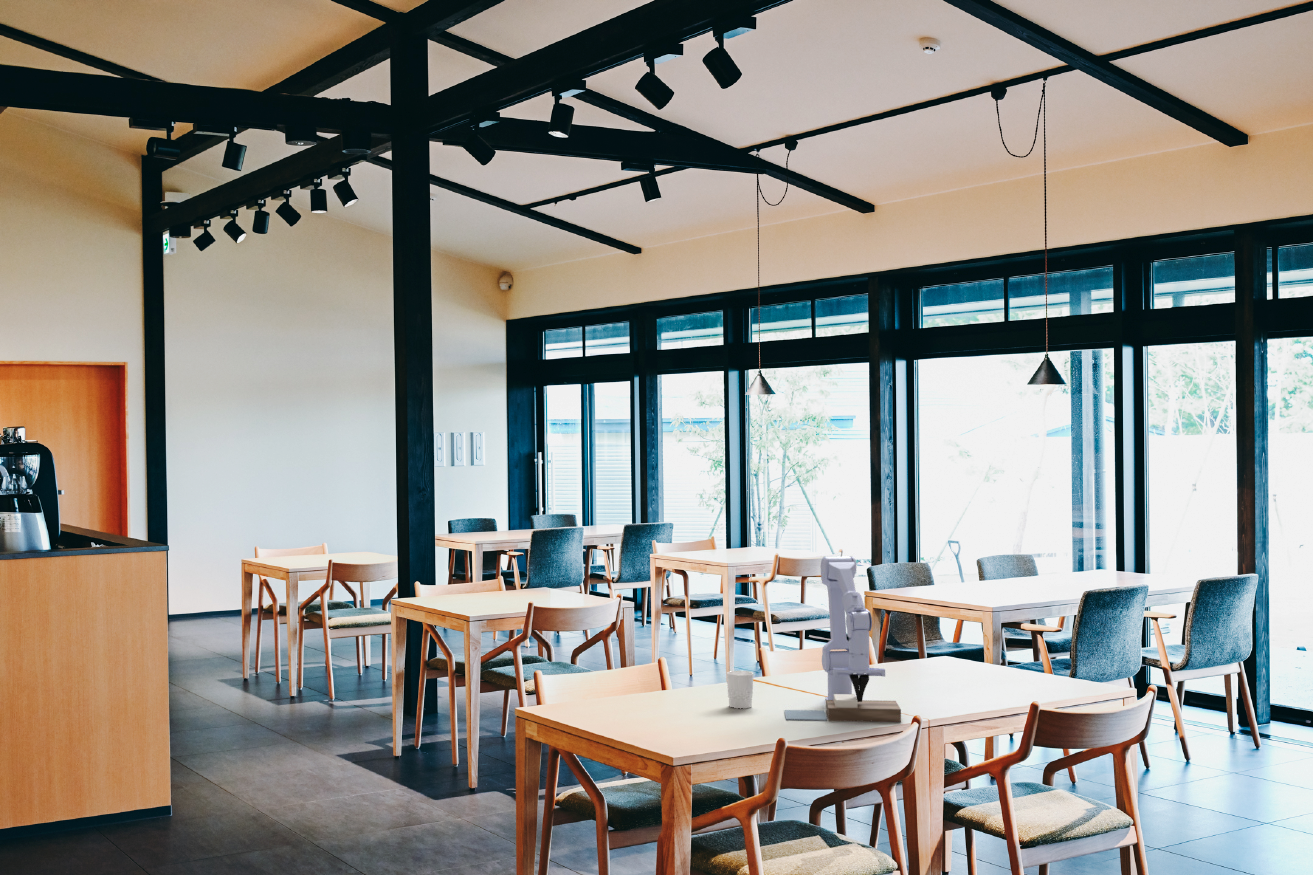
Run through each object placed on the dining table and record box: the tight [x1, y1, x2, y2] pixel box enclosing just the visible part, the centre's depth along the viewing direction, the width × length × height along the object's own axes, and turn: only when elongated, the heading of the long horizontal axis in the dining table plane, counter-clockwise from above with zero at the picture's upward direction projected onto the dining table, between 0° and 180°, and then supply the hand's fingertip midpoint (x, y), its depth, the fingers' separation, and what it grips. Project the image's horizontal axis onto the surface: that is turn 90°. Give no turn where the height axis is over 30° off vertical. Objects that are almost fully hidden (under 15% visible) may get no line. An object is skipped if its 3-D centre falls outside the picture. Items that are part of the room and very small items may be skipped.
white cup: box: [726, 670, 754, 710], centre depth 347 cm, size 8×8×10 cm
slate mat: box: [784, 709, 828, 722], centre depth 333 cm, size 12×12×1 cm
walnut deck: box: [825, 699, 902, 723], centre depth 332 cm, size 12×20×4 cm, turn 85°
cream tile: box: [834, 693, 857, 708], centre depth 332 cm, size 9×6×2 cm, turn 176°
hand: (859, 701), depth 332 cm, fingers closed
